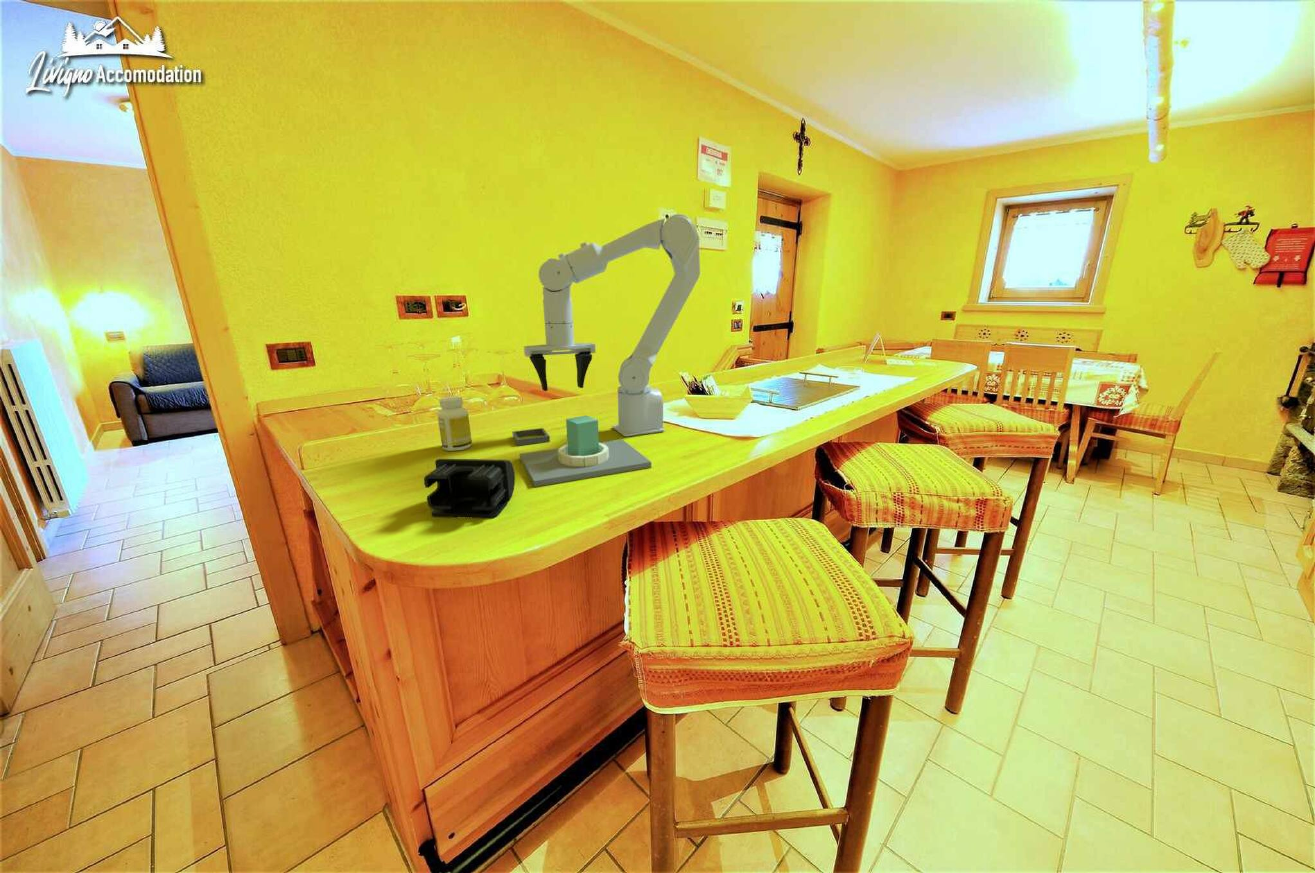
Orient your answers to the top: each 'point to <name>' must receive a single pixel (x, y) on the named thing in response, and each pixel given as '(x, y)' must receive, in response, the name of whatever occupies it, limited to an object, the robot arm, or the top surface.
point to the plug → (582, 436)
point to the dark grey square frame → (528, 433)
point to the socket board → (564, 473)
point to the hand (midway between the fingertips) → (562, 388)
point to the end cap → (470, 487)
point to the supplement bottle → (454, 424)
